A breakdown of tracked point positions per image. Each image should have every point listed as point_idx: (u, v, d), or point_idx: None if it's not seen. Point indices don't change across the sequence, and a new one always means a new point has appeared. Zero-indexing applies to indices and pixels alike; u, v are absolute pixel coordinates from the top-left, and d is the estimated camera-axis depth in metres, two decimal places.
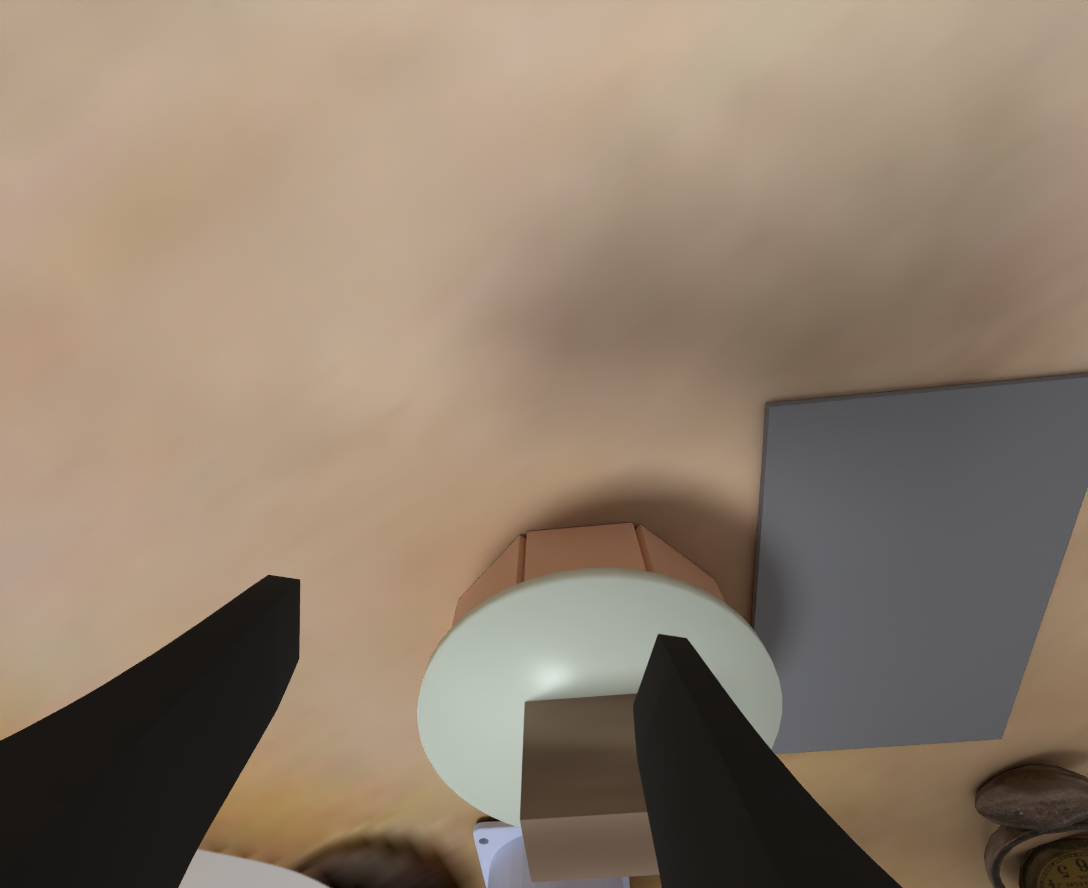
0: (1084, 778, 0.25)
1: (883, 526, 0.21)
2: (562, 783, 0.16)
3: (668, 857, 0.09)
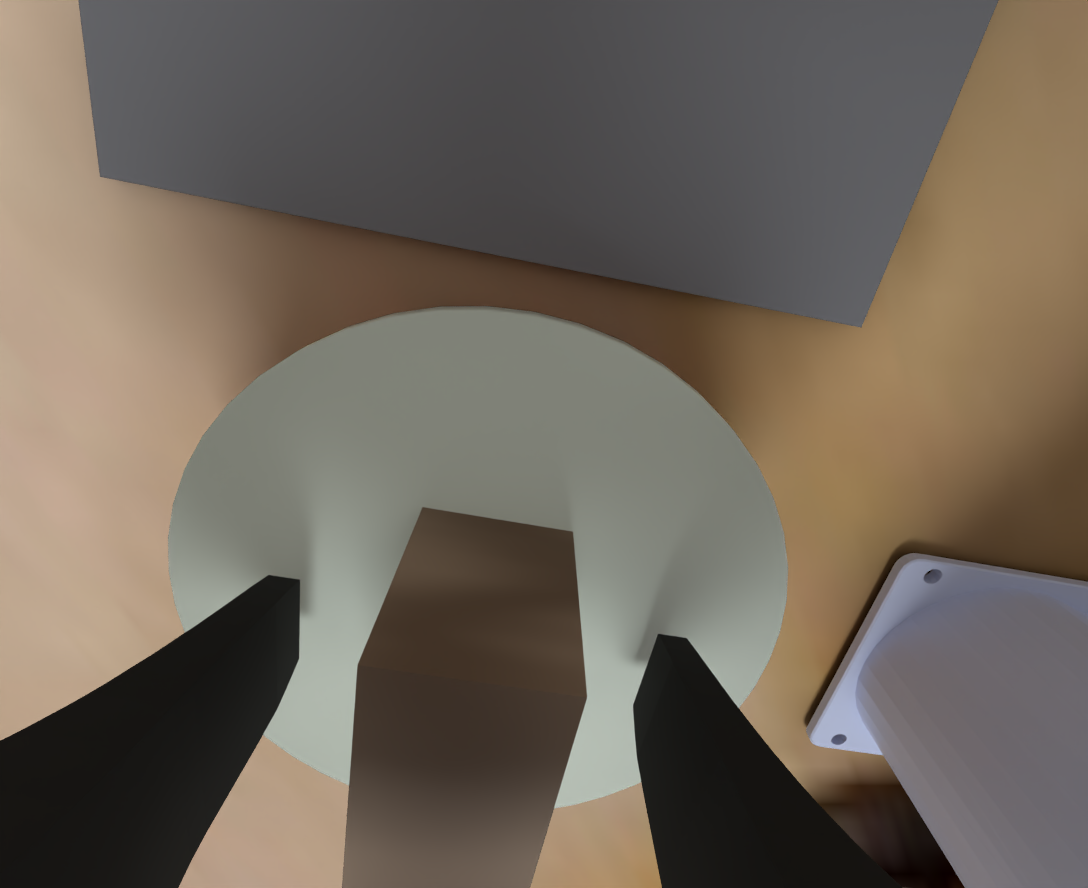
0: None
1: None
2: None
3: (668, 857, 0.09)
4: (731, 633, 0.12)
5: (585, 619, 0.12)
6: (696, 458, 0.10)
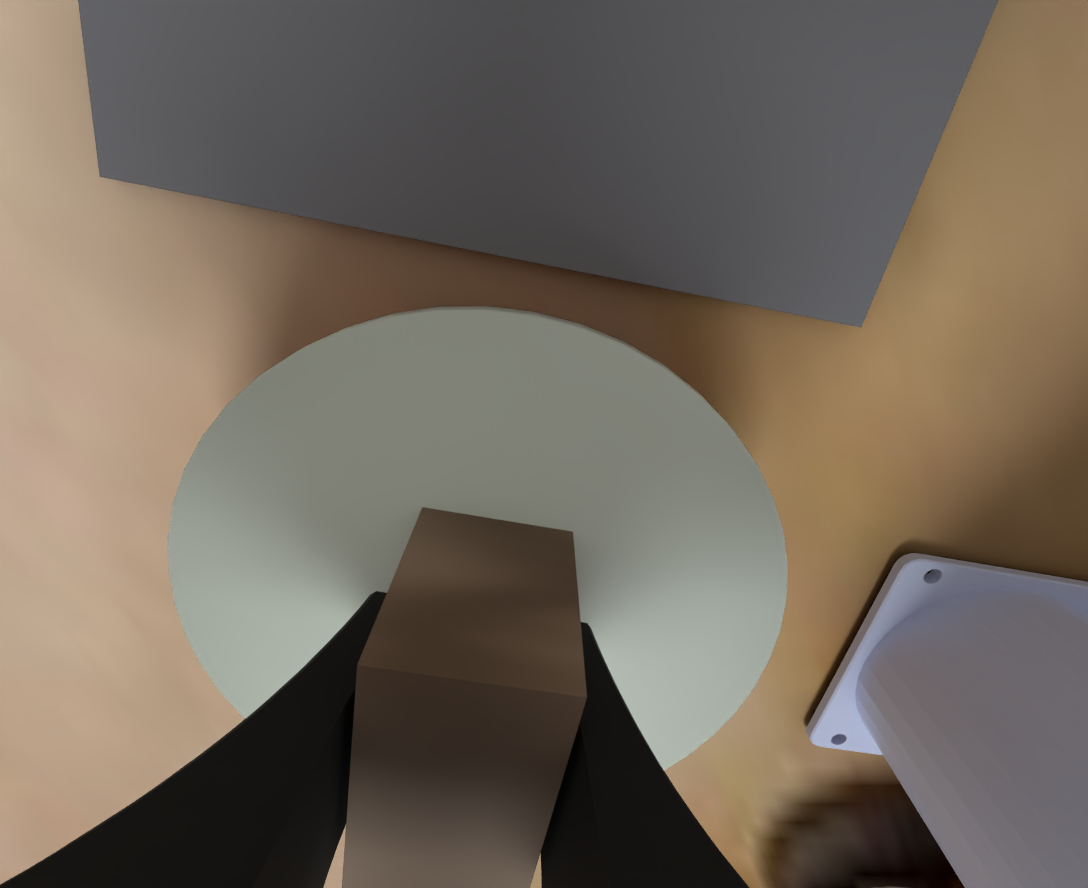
0: None
1: None
2: None
3: (547, 842, 0.09)
4: (731, 633, 0.12)
5: (585, 619, 0.12)
6: (696, 458, 0.10)
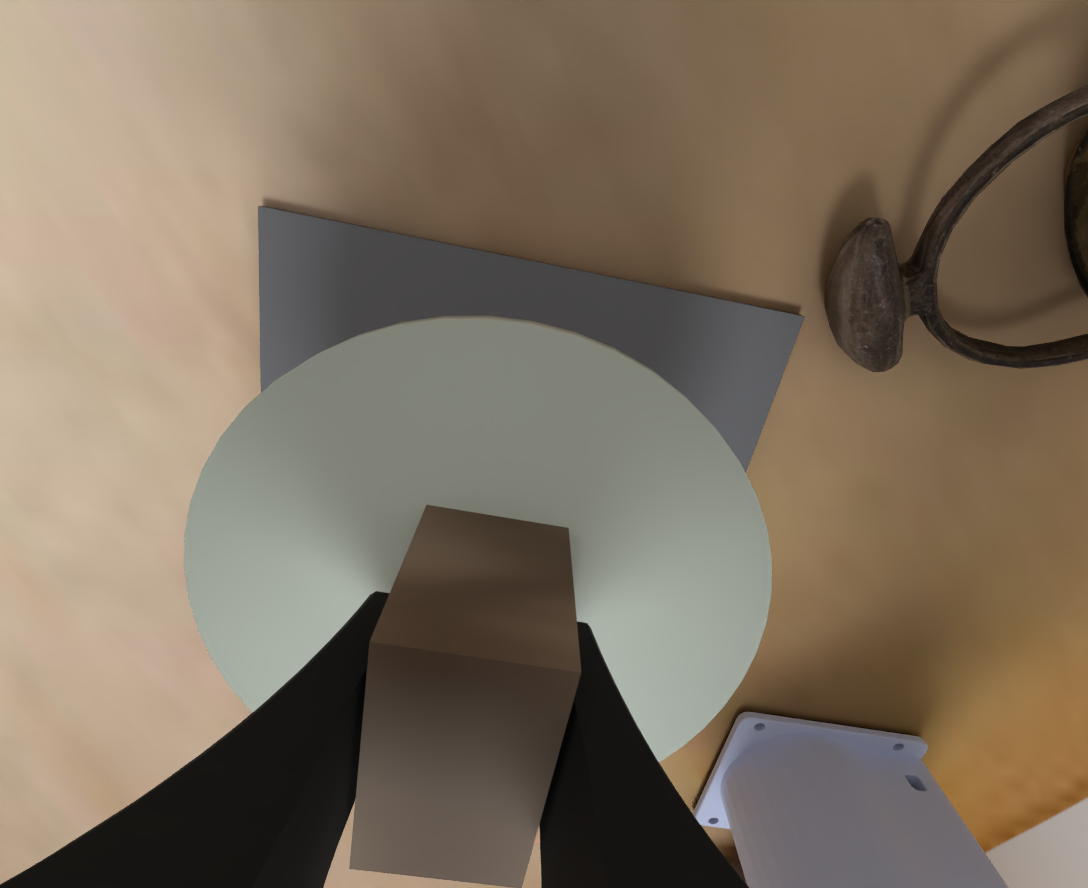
0: (845, 240, 0.16)
1: None
2: None
3: (546, 843, 0.09)
4: (720, 625, 0.12)
5: (580, 613, 0.12)
6: (683, 457, 0.11)
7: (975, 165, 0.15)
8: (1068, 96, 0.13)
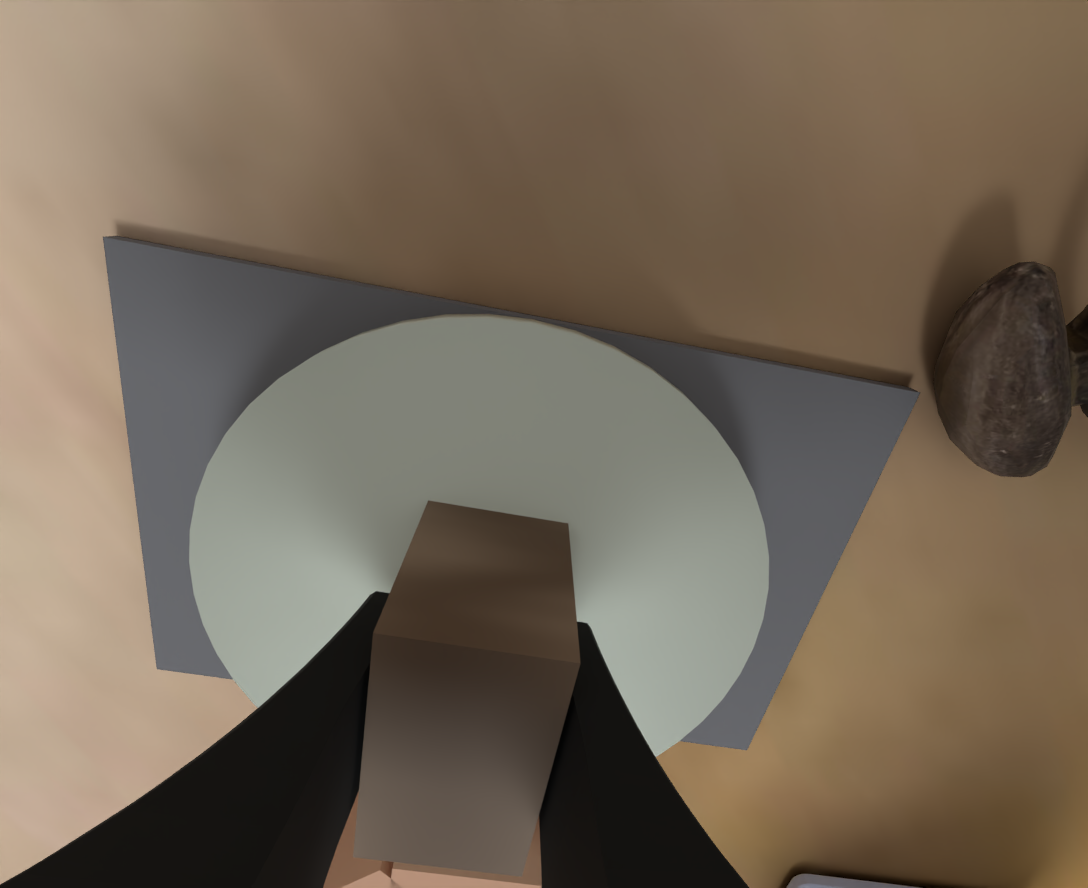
0: (977, 296, 0.11)
1: None
2: None
3: (546, 843, 0.09)
4: (718, 620, 0.13)
5: (580, 607, 0.12)
6: (681, 453, 0.11)
7: None
8: None
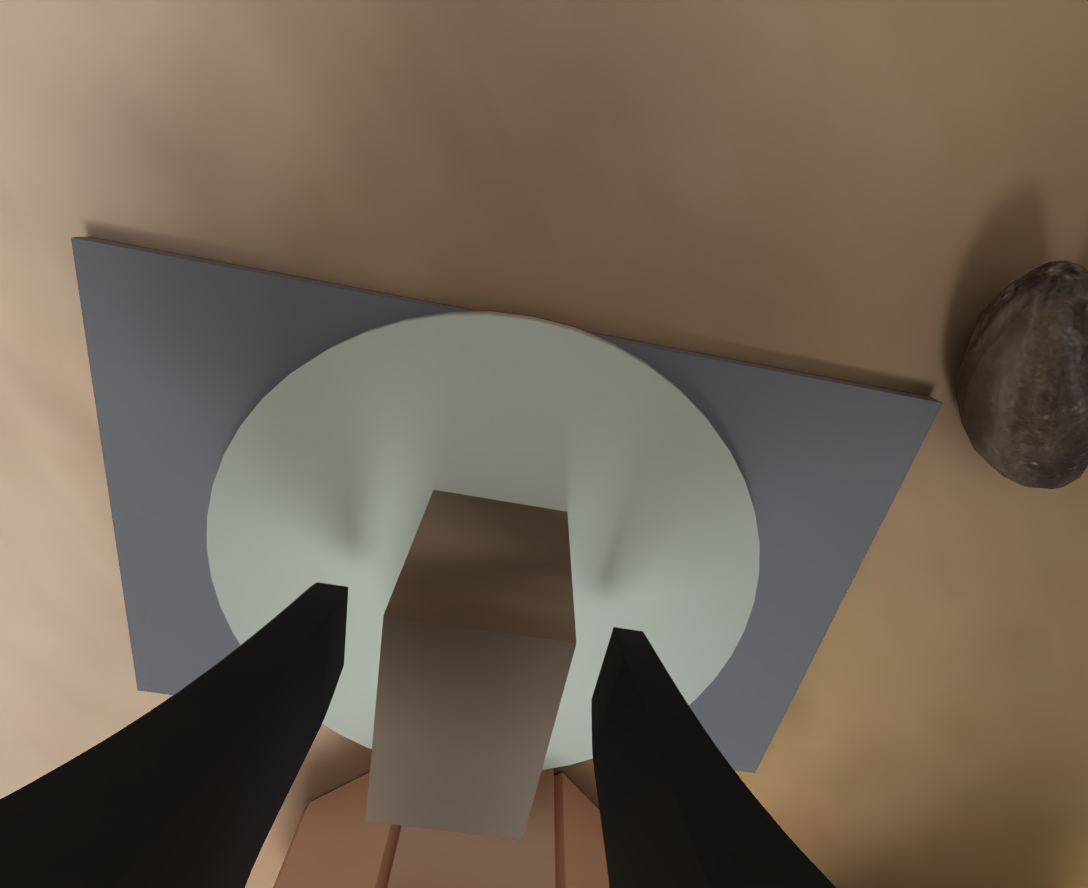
0: (1004, 298, 0.10)
1: None
2: None
3: (614, 851, 0.09)
4: (710, 604, 0.13)
5: (578, 591, 0.13)
6: (675, 445, 0.11)
7: None
8: None
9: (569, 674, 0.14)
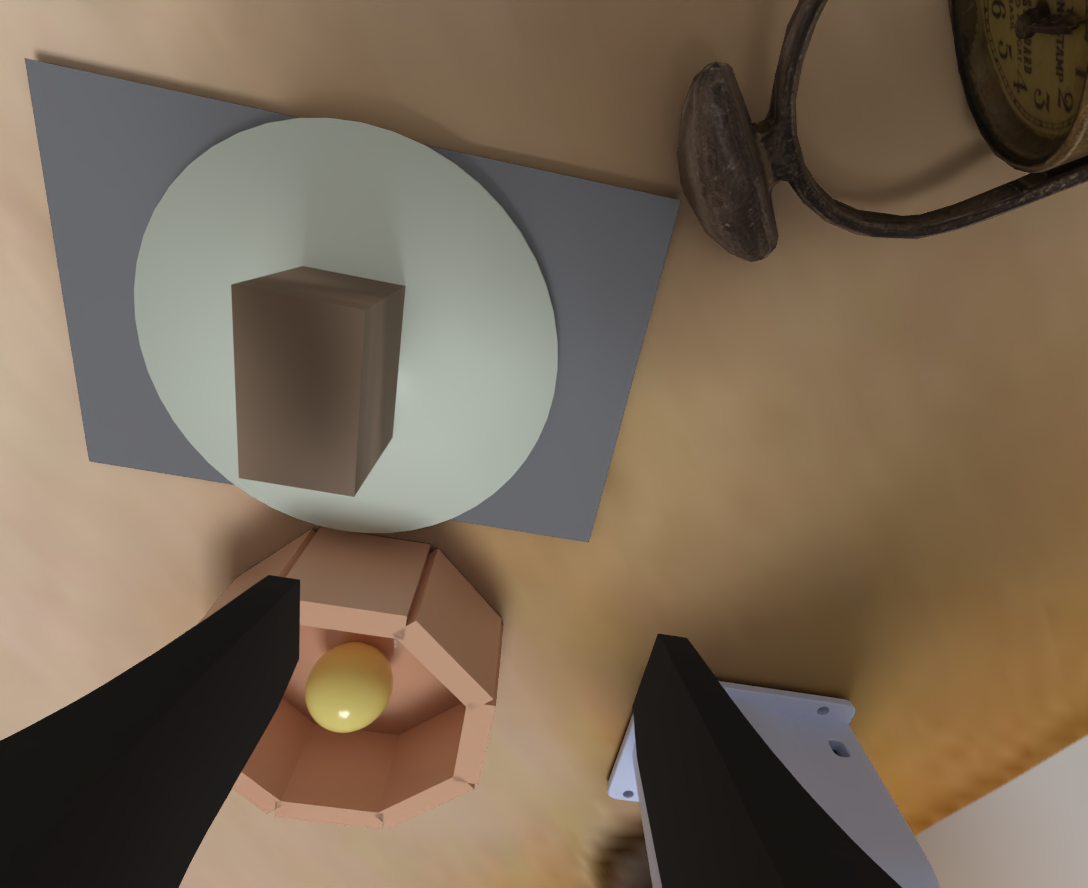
0: (687, 96, 0.14)
1: None
2: None
3: (668, 857, 0.09)
4: (524, 370, 0.17)
5: (422, 358, 0.17)
6: (479, 227, 0.15)
7: None
8: None
9: (424, 436, 0.18)
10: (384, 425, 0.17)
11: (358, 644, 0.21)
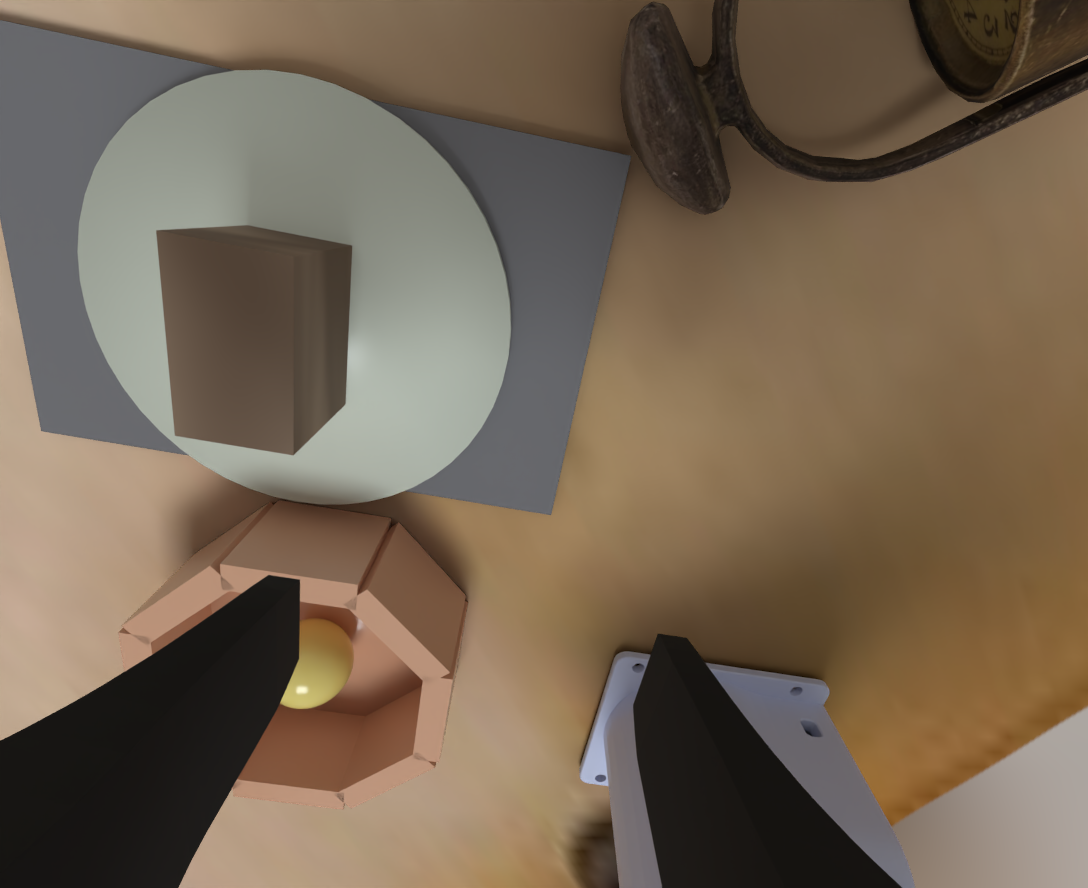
0: (626, 42, 0.14)
1: None
2: None
3: (668, 857, 0.09)
4: (477, 333, 0.17)
5: (372, 321, 0.17)
6: (424, 183, 0.15)
7: None
8: None
9: (377, 403, 0.18)
10: (332, 388, 0.16)
11: (318, 620, 0.21)
